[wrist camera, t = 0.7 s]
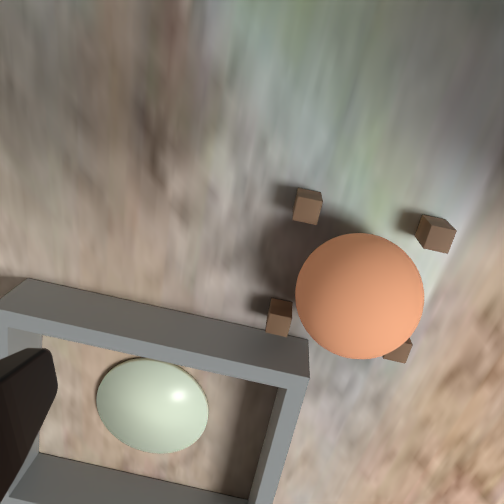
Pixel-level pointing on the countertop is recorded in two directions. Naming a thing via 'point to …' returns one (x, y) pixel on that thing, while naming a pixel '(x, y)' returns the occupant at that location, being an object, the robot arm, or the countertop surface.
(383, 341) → the ball
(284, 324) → the cradle
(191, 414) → the grey shallow tray
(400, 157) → the countertop surface
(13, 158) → the countertop surface
